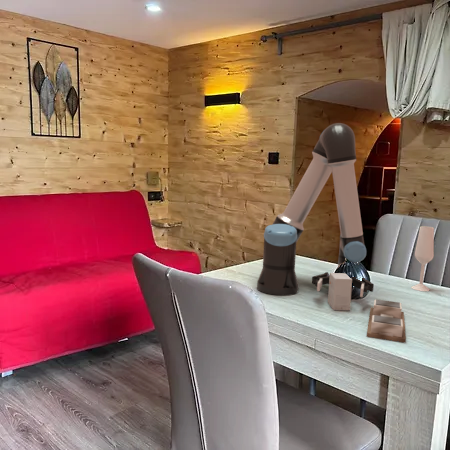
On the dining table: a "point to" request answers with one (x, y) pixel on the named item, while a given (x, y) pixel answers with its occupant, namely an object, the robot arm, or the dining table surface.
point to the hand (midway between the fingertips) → (339, 289)
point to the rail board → (386, 321)
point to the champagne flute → (424, 252)
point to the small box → (339, 291)
